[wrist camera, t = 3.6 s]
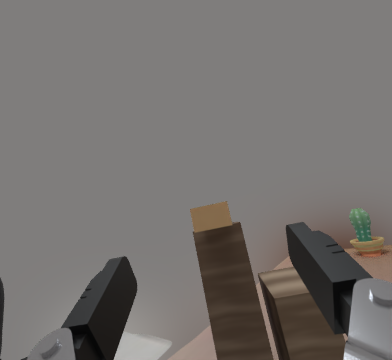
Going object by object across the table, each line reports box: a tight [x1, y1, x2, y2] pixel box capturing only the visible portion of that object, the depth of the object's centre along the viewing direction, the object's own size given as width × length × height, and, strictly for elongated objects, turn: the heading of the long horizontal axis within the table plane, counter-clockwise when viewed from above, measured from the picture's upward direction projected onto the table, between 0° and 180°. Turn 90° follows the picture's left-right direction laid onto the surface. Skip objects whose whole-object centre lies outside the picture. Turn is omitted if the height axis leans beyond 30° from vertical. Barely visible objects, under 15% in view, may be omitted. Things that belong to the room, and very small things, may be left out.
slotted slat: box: [190, 201, 232, 233], centre depth 34 cm, size 24×4×2 cm, turn 173°
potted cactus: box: [349, 208, 384, 257], centre depth 116 cm, size 15×15×25 cm
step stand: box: [193, 222, 346, 360], centre depth 34 cm, size 14×16×32 cm
